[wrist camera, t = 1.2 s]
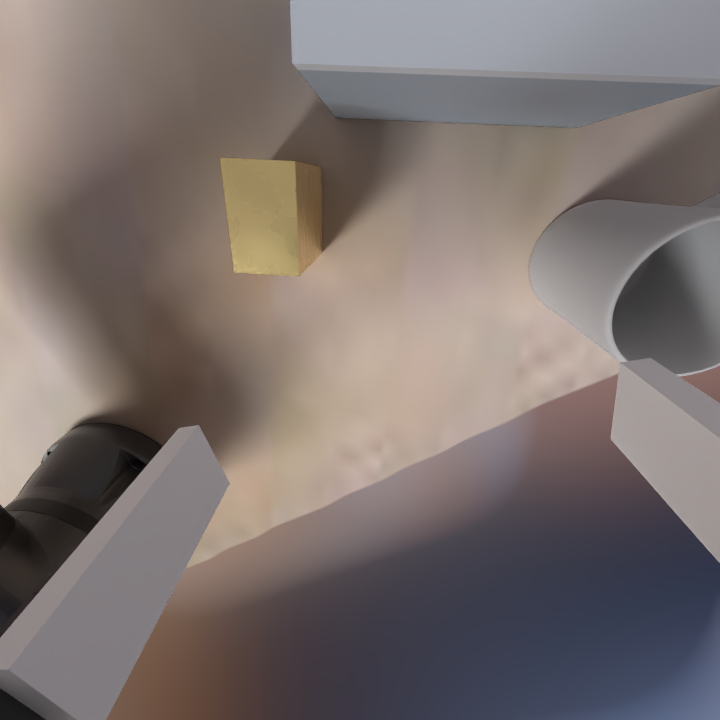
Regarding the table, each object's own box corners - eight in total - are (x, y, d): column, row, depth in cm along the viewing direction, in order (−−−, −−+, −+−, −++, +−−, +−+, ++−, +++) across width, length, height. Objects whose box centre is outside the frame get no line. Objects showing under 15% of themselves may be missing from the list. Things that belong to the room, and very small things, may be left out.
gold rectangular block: (273, 249, 28) (233, 272, 21) (267, 164, 25) (219, 157, 18) (322, 252, 28) (299, 276, 21) (321, 167, 25) (294, 161, 18)
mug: (556, 331, 29) (641, 405, 20) (507, 251, 27) (575, 290, 17) (715, 239, 25) (921, 274, 15) (674, 133, 23) (893, 94, 13)
